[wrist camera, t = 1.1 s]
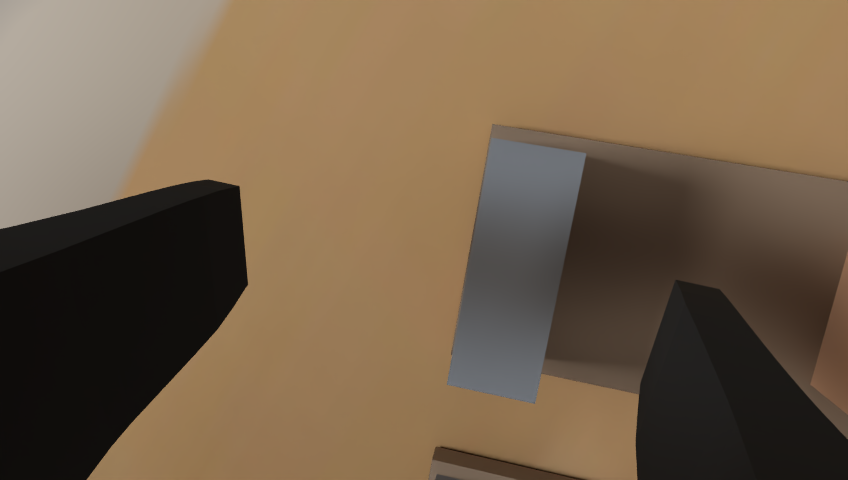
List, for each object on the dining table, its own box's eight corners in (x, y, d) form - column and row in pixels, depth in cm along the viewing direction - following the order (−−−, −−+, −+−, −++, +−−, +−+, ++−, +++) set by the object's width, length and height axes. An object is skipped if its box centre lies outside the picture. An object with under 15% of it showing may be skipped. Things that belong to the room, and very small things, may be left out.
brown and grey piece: (993, 458, 20) (1144, 556, 15) (454, 345, 23) (435, 399, 18) (1075, 219, 19) (1267, 242, 14) (493, 125, 21) (485, 117, 16)
